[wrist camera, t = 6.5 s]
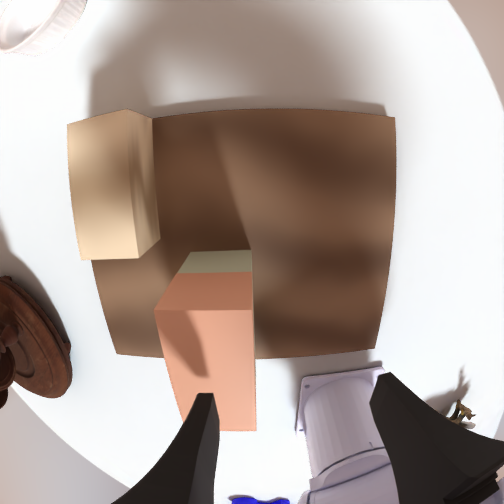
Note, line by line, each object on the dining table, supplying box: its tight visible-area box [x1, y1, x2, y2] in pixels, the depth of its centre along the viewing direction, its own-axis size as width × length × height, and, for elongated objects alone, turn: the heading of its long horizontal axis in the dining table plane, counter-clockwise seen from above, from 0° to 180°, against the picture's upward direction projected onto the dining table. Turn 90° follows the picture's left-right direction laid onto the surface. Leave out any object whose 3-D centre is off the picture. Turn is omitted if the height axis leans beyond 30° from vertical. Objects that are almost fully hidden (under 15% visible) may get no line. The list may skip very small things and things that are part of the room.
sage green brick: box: [178, 250, 256, 383], centre depth 18 cm, size 8×4×4 cm, turn 2°
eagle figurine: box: [444, 400, 475, 429], centre depth 24 cm, size 8×7×9 cm
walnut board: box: [91, 109, 396, 359], centre depth 19 cm, size 18×22×1 cm
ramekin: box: [0, 0, 87, 56], centre depth 11 cm, size 9×9×4 cm
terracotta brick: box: [154, 272, 256, 431], centre depth 14 cm, size 8×4×4 cm, turn 2°
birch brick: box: [67, 109, 161, 260], centre depth 15 cm, size 8×4×4 cm, turn 2°
